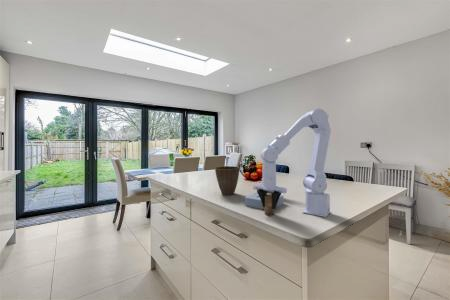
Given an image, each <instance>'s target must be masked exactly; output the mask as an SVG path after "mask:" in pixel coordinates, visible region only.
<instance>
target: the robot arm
mask: <svg viewBox="0 0 450 300" xmlns="http://www.w3.org/2000/svg"><path fill="white" fill-rule="evenodd" d="M329 122H330V121H329V114H328V113H327V112H326V111H325V110H324V109H323V108H315V109H313V110H311V111H307V112H305V113H304V114H303V115H302V116H300V117H299V118H298V119H297V120H296V121H295V122H294V124H292V126H290V128H289V129H288V130H287V131H286V132H285V133H284V134H279V135H276V136H275V137H274V140H273V141H272V142H271V143H270V144H267V145H266V146H267V148H264V149H263V150H262V151H261V153H260V158H261V160H262V164H261V165H262V166H261V167H262V169H261V170H262V171H261V172H262V175H261V176H262V177H261V178H262V181H261V182H262V184H255V183H254V184H253V188H252V189H253V190H257V189H258V190H259V191H258V192H257V191H256V193H258V195H259V197H260V199H261V202H262V206H263V207H265V195H266V194H267V191H272V192H273V193H271V195H272V202H273V204H272V207H273V209H274V210H276V209H277V208H276V206H277V202H278V200H279V197H280V195H282V194H285V195H286V194H287V191H288V190H287V187H281V186H278V185H277V162H276V161H277V160H278V158H279V155H281V153H282V152H283V151H284V150H286V148H288V147H289V146H290V143H291V142H290V141H291V139H292V138H294V137H295V136H296V135H297V134H299V132H300V131H302V130H303V128H307V127H308V128H310V129H311V130H312V131H313V132H314V133H315V138H314V143H313V149H312V155H311V161H310V167H309V169H308V170H307V171H306V173H305V177H304V178H303V179H302V185H303V186H304V188H305V208H304V210H302V213H303V214H308V215H312V216H318V217H324V218H327V217H328V215H329V214H331V207H330V206H331V202H330V201H331V197H330V196H331V195H330V193H326V192H325V191H326V190H327V187H328V183H327V175H326V173H325V171H324V170H325V165H326V159H327V158H326V157H327V154H328V153H327V152H328V147H329V142H330V136H331V127H330V123H329Z"/></svg>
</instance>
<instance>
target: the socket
mask: <svg viewBox="0 0 450 300" xmlns="http://www.w3.org/2000/svg"><path fill="white" fill-rule="evenodd" d="M267 194H269V193H267ZM281 205H284V195H282V194H281V195H280V197H279V200H278V202H277V206H276V209H277V208H278V207H281ZM245 206H246V207H251V208H256V209H261V210H264V211H265V207H263V206H262V202H261V199H260V197H259V195H258V193H257V192H255V193H252V194H249V195H247V196H244V207H245Z"/></svg>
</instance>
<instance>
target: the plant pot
mask: <svg viewBox="0 0 450 300" xmlns="http://www.w3.org/2000/svg"><path fill="white" fill-rule="evenodd" d="M214 170H215V176H216V181H217V184H218V187H219V190H220V193H221V195H222V196H232V195H235V192H236V189H237V185H238V182H239V175H240V167H239V166H217V167H215V168H214Z"/></svg>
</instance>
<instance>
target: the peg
mask: <svg viewBox="0 0 450 300" xmlns="http://www.w3.org/2000/svg"><path fill="white" fill-rule="evenodd" d="M272 204H273V202H272V195H271V194H266V195H265V210H264V215H266V216H274V215H275V209H273V207H272Z"/></svg>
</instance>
